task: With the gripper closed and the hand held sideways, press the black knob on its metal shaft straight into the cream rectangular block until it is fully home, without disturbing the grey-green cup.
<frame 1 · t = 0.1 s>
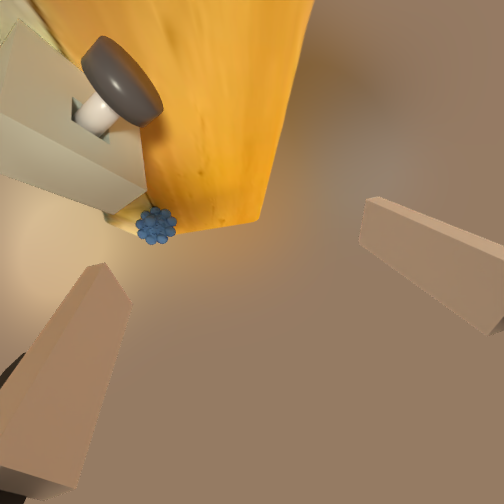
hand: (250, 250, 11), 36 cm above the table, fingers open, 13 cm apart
knob: (106, 107, 26), point 9 cm above the table, slide at 5.0 cm
grapes: (151, 205, 58), on the table
cream rectangular block: (75, 97, 32), on the table
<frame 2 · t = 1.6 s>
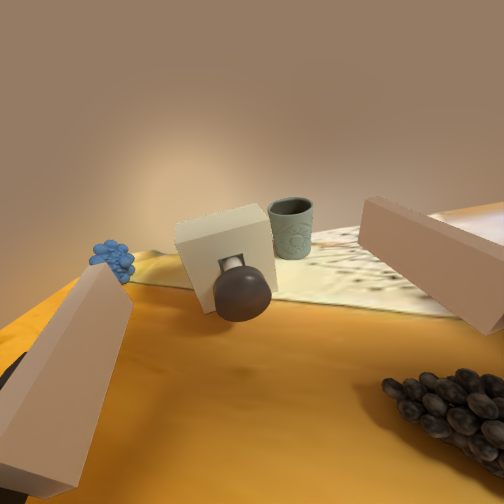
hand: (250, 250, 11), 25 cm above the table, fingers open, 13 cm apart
knob: (236, 277, 33), point 9 cm above the table, slide at 5.0 cm
grey-green cup: (292, 250, 53), on the table
grapes: (130, 282, 52), on the table
cream rectangular block: (238, 288, 44), on the table
fruit: (458, 426, 22), on the table
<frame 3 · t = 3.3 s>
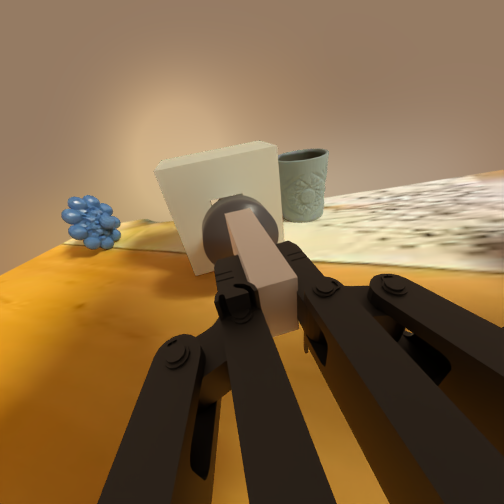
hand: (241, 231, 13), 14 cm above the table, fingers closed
knob: (233, 220, 26), point 9 cm above the table, slide at 5.0 cm
grey-green cup: (301, 214, 46), on the table
grapes: (115, 248, 46), on the table
cream rectangular block: (236, 250, 37), on the table
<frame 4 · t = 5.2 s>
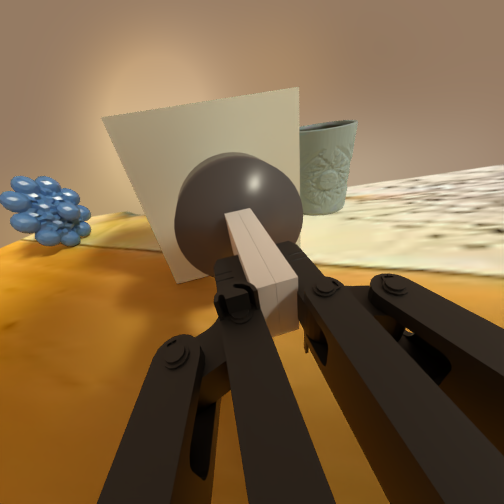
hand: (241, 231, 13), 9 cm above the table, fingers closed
knob: (229, 201, 17), point 9 cm above the table, slide at 4.6 cm, touching gripper
grey-green cup: (315, 205, 37), on the table
grapes: (81, 245, 36), on the table
cream rectangular block: (235, 250, 28), on the table
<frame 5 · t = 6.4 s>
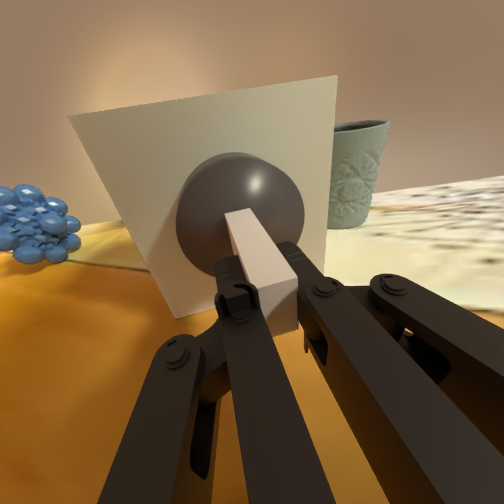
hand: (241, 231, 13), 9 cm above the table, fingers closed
knob: (230, 201, 17), point 9 cm above the table, slide at -0.5 cm, touching gripper, cream rectangular block
grey-green cup: (333, 216, 32), on the table
grapes: (69, 260, 32), on the table
cream rectangular block: (244, 273, 24), on the table
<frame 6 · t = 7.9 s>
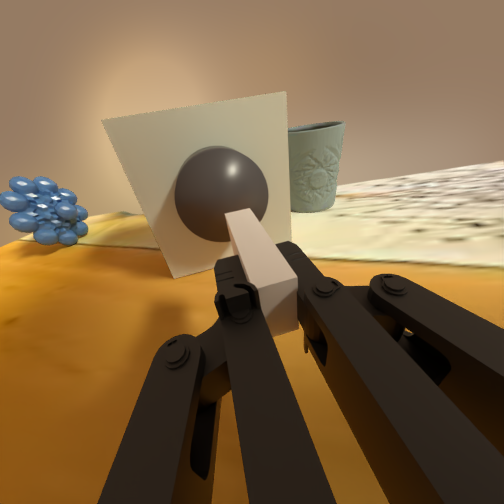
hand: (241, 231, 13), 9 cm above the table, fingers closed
knob: (216, 185, 22), point 9 cm above the table, slide at 0.0 cm
grey-green cup: (307, 203, 38), on the table
grapes: (79, 244, 37), on the table
cream rectangular block: (229, 246, 29), on the table
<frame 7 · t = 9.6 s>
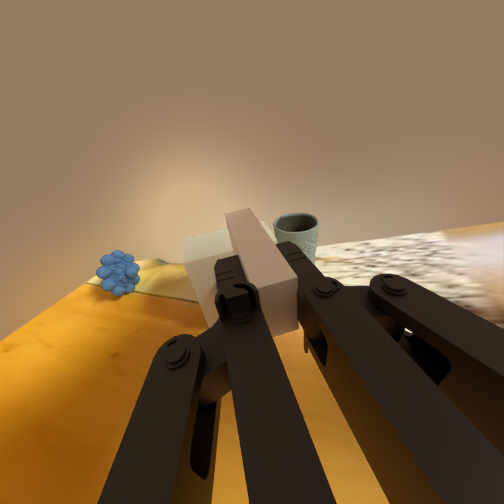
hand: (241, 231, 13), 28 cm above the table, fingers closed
knob: (236, 277, 38), point 9 cm above the table, slide at 0.0 cm
grey-green cup: (296, 264, 53), on the table
grapes: (135, 291, 53), on the table
cream rectangular block: (242, 303, 45), on the table
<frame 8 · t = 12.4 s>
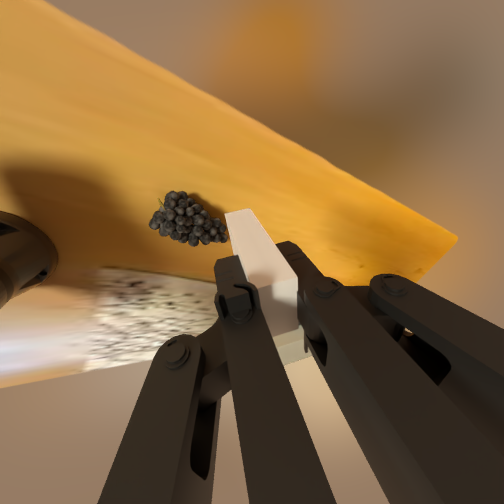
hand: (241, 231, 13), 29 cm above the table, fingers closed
knob: (296, 318, 52), point 9 cm above the table, slide at 0.0 cm
cream rectangular block: (283, 298, 61), on the table
fruit: (193, 218, 42), on the table
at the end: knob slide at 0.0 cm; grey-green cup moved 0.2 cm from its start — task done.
